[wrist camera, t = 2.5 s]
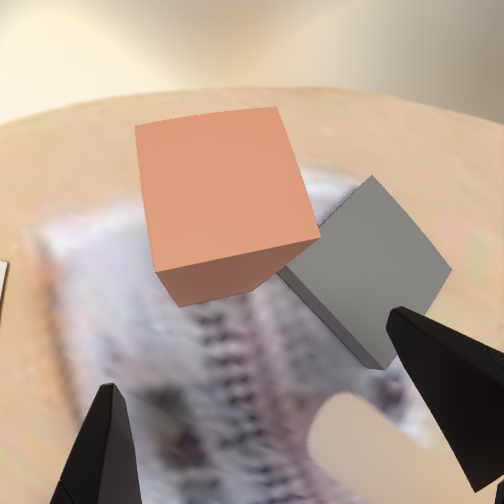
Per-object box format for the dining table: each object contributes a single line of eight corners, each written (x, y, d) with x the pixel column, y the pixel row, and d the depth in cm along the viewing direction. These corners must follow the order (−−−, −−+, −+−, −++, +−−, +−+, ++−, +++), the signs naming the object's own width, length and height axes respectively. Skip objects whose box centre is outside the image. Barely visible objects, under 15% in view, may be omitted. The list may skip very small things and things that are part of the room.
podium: (367, 368, 22) (385, 370, 19) (274, 270, 22) (284, 263, 20) (433, 275, 25) (452, 269, 22) (357, 188, 25) (371, 174, 23)
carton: (252, 291, 22) (320, 237, 10) (178, 307, 21) (155, 272, 9) (234, 221, 23) (276, 106, 11) (164, 235, 22) (134, 126, 10)
